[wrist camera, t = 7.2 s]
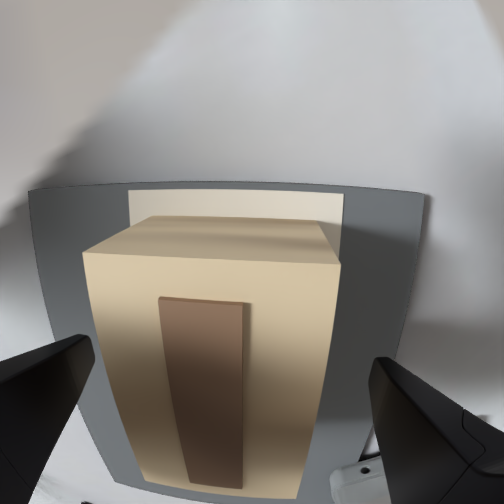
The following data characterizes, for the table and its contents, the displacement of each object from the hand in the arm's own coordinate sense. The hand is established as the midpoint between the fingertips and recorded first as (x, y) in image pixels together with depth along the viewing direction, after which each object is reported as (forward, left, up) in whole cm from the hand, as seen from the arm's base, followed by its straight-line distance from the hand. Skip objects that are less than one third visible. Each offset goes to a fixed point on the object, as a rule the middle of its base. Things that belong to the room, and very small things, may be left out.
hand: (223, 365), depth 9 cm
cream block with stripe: (0, 0, -2) cm, 2 cm away
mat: (-4, +1, -2) cm, 5 cm away
